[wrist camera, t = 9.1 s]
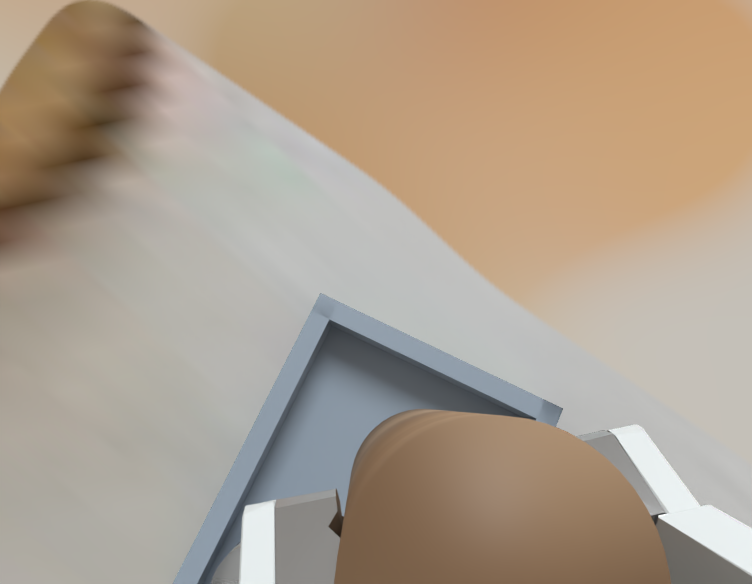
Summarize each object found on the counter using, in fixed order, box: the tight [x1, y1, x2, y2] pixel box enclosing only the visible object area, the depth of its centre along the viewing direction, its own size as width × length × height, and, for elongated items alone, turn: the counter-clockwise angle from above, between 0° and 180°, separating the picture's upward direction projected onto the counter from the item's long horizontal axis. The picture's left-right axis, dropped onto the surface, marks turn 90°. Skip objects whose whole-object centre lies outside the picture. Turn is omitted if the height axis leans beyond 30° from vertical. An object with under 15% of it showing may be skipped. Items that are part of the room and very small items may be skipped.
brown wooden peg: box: [334, 409, 671, 584], centre depth 10 cm, size 4×4×8 cm
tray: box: [173, 293, 563, 584], centre depth 22 cm, size 14×11×3 cm
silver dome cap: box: [211, 540, 241, 584], centre depth 20 cm, size 3×3×4 cm
